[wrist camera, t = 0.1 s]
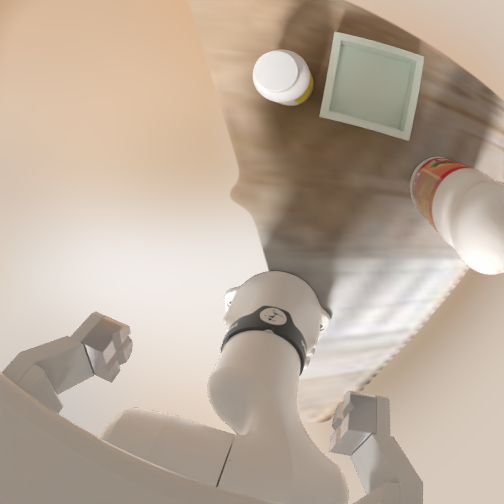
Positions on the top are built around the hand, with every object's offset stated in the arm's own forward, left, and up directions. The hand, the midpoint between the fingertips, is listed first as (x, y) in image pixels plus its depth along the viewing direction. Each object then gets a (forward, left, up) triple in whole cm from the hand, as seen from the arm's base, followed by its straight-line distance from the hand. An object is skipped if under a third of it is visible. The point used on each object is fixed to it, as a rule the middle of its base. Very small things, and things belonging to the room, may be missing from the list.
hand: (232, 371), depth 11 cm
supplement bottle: (+13, +5, -39) cm, 42 cm away
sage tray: (+15, -6, -39) cm, 42 cm away
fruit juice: (+4, -19, -39) cm, 44 cm away
